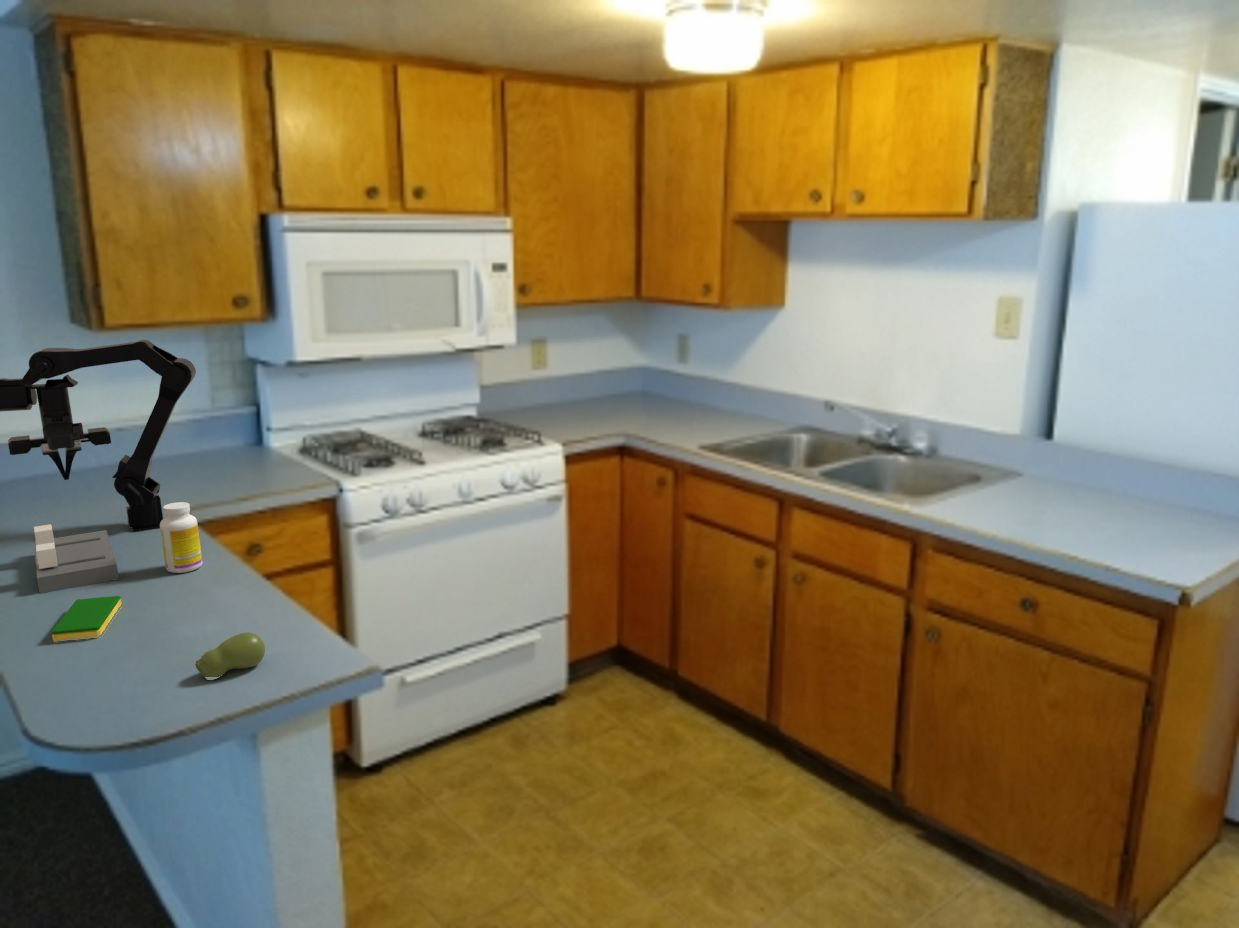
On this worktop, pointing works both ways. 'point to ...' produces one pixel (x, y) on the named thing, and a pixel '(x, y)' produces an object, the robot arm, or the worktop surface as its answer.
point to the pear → (232, 655)
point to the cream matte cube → (44, 534)
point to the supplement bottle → (180, 539)
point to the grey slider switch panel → (79, 562)
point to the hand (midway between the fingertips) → (66, 479)
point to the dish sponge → (86, 618)
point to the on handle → (46, 555)
